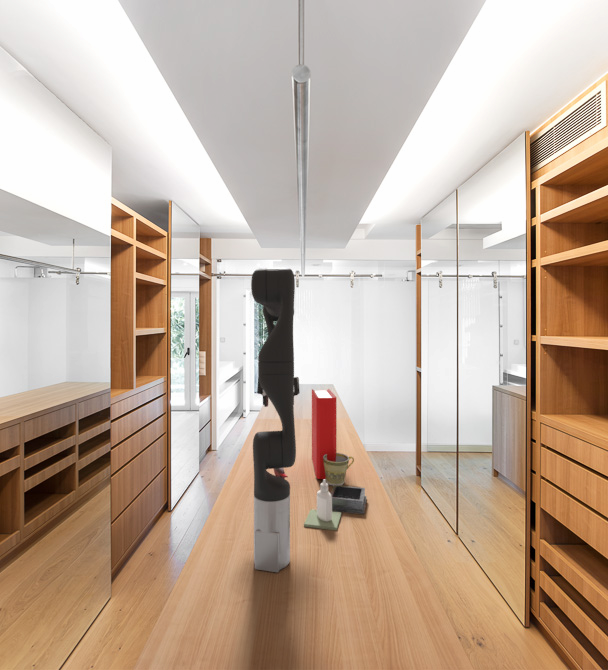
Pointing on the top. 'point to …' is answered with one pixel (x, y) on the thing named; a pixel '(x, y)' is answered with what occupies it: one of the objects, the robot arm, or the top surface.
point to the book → (323, 430)
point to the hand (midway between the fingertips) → (278, 407)
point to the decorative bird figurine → (280, 472)
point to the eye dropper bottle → (324, 503)
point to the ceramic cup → (336, 469)
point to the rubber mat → (318, 523)
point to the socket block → (348, 499)
